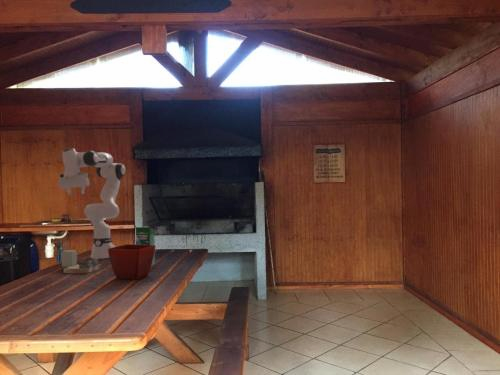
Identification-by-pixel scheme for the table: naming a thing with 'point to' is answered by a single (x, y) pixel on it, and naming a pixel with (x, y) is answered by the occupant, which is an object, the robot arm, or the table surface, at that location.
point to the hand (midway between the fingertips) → (76, 194)
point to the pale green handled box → (68, 257)
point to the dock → (84, 266)
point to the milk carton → (145, 237)
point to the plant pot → (131, 260)
